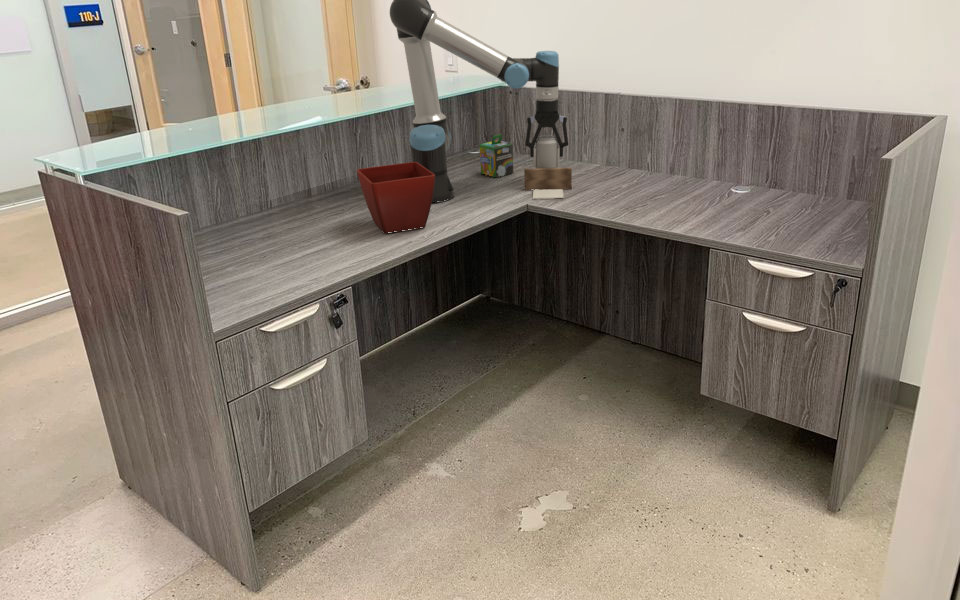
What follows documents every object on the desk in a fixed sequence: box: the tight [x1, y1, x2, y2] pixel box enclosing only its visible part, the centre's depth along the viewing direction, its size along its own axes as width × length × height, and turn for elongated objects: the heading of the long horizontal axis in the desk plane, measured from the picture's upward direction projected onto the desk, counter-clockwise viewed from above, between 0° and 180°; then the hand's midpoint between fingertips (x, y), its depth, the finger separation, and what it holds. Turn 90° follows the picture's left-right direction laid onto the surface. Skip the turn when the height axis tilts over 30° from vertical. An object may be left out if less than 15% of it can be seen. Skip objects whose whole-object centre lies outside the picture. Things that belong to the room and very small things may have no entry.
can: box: [535, 134, 559, 169], centre depth 264 cm, size 8×8×12 cm
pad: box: [532, 189, 564, 200], centre depth 255 cm, size 10×10×1 cm
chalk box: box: [479, 133, 514, 178], centre depth 282 cm, size 9×9×15 cm
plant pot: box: [356, 161, 435, 234], centre depth 228 cm, size 19×19×17 cm
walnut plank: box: [523, 167, 573, 191], centre depth 261 cm, size 16×2×7 cm, turn 85°
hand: (546, 166), depth 266 cm, fingers closed on can, 7 cm apart
